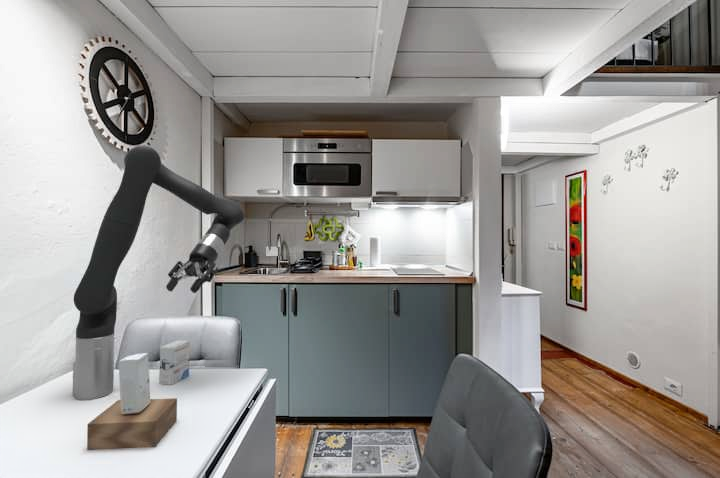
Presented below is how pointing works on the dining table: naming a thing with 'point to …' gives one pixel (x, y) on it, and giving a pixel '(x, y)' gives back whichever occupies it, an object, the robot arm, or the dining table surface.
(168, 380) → the ink box
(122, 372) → the skincare box
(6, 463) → the dining table surface
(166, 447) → the dining table surface
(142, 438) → the walnut block
